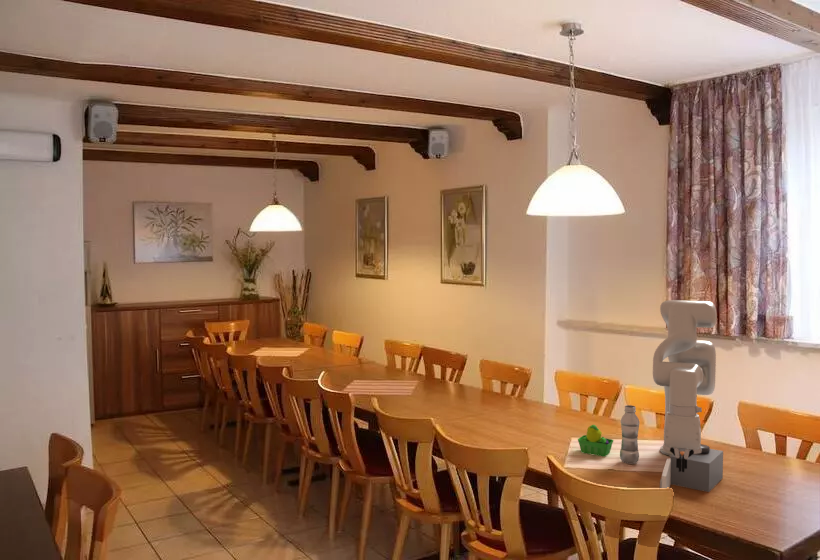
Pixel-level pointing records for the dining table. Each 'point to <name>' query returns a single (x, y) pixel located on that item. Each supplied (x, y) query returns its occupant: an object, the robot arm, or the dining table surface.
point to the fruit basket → (595, 442)
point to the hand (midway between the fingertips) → (681, 470)
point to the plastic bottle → (629, 436)
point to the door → (666, 475)
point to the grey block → (699, 469)
